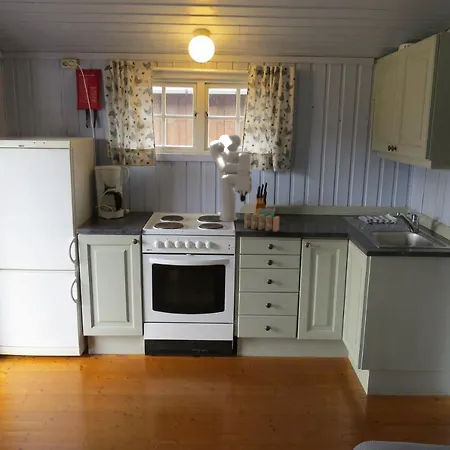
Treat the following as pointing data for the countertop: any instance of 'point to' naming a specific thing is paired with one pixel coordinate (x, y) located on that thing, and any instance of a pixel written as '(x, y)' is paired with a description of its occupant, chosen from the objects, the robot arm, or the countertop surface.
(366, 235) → the countertop surface
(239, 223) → the countertop surface
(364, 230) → the countertop surface
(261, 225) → the domino
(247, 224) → the domino
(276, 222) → the domino
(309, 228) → the countertop surface
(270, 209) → the food container
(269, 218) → the domino
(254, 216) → the domino
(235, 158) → the robot arm
